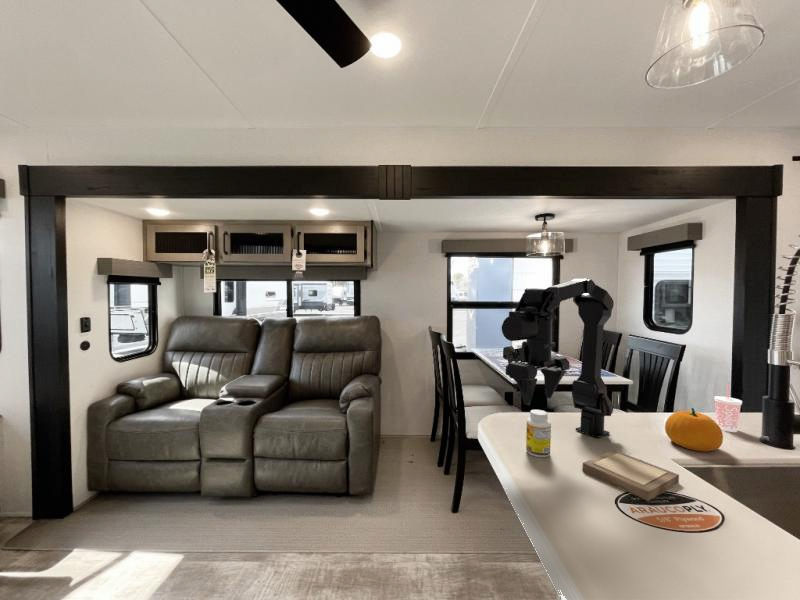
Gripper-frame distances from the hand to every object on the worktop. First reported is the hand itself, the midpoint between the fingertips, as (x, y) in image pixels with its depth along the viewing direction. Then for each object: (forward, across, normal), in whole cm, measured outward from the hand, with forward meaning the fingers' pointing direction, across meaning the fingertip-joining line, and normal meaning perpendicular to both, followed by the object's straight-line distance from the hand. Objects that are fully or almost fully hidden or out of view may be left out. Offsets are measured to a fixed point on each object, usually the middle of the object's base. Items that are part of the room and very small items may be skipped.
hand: (537, 401), depth 85 cm
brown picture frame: (+13, -6, +18) cm, 23 cm away
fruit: (+14, -38, +21) cm, 46 cm away
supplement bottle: (+13, 0, 0) cm, 13 cm away
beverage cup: (+14, -62, +23) cm, 68 cm away
